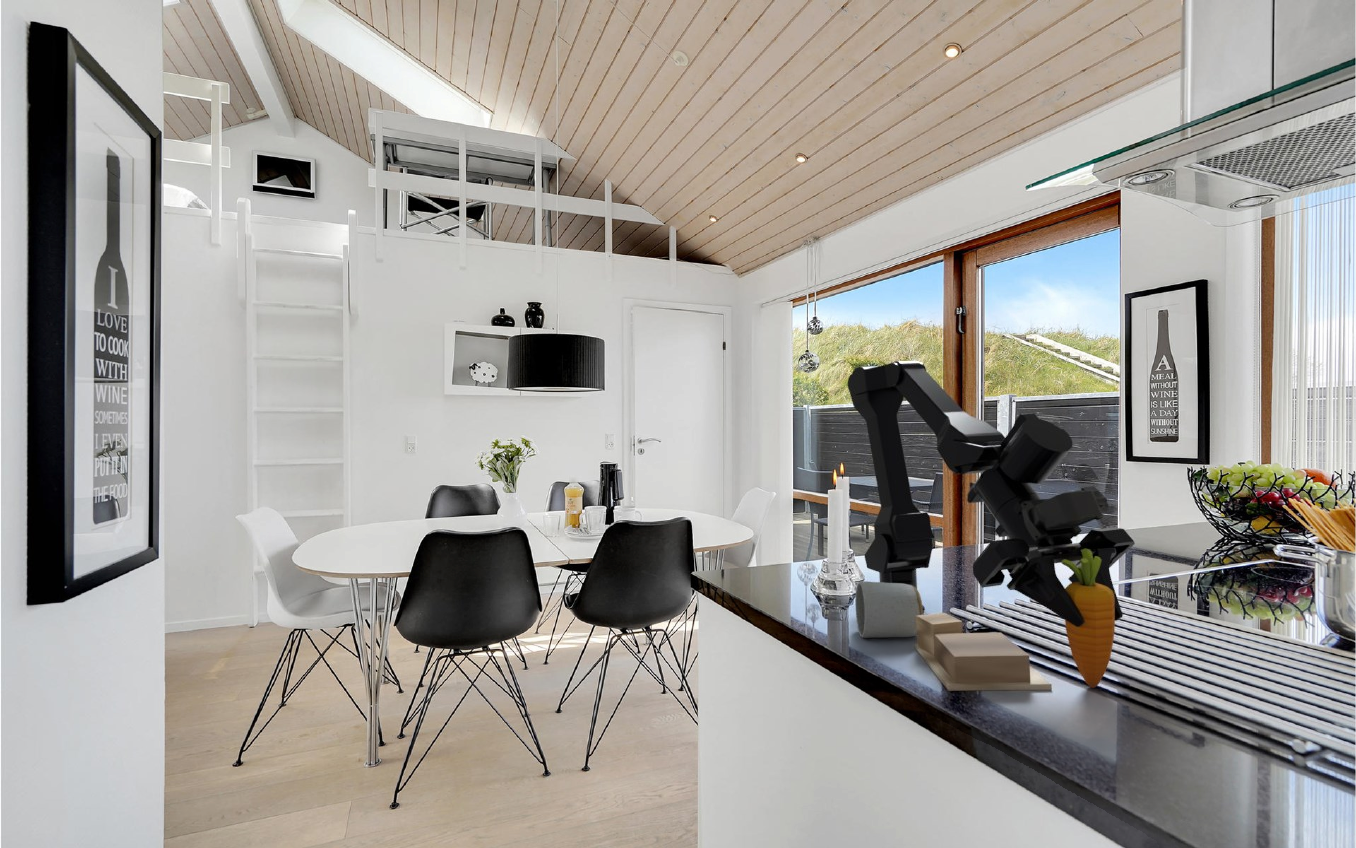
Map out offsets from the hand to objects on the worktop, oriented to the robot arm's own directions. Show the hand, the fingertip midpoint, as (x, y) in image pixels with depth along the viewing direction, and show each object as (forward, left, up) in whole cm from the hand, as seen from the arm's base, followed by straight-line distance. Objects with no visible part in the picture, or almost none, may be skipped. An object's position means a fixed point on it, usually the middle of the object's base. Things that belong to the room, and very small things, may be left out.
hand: (1100, 621), depth 71 cm
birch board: (-8, -11, -8) cm, 15 cm away
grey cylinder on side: (-21, -19, -8) cm, 29 cm away
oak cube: (-12, -14, -7) cm, 20 cm away
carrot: (-1, -1, -8) cm, 8 cm away
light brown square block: (-5, -11, -7) cm, 14 cm away
